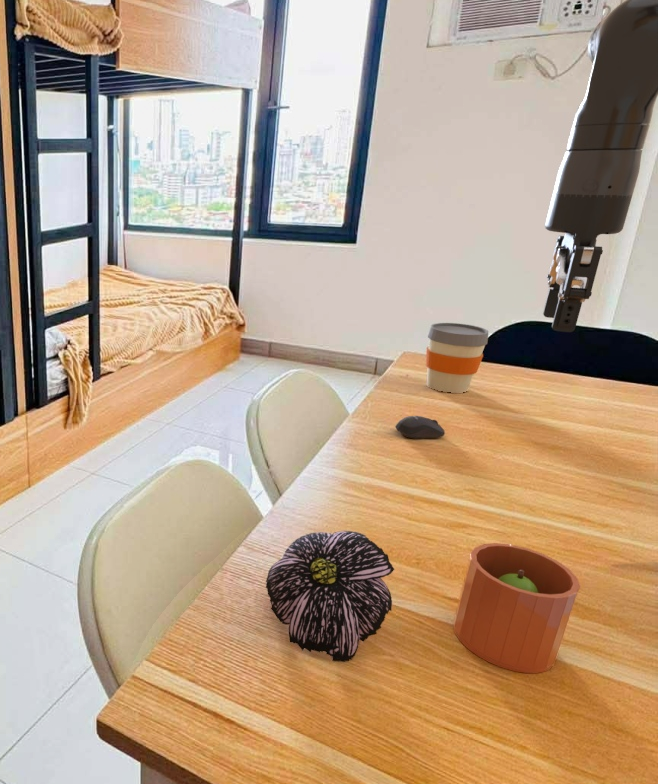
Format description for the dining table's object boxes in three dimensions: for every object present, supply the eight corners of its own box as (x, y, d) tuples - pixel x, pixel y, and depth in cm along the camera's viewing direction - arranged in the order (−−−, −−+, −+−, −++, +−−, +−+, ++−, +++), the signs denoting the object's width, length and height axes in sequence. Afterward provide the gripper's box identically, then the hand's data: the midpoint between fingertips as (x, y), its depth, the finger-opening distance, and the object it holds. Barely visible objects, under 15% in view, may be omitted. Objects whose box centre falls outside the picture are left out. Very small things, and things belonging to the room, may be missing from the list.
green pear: (539, 636, 73) (559, 570, 70) (526, 661, 69) (546, 593, 66) (483, 612, 77) (500, 549, 74) (467, 634, 73) (484, 569, 70)
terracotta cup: (564, 641, 73) (588, 569, 69) (543, 688, 66) (568, 610, 63) (468, 601, 80) (485, 533, 76) (440, 639, 73) (458, 567, 70)
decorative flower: (238, 546, 74) (335, 490, 78) (235, 597, 82) (323, 543, 86) (330, 648, 64) (436, 577, 68) (317, 695, 72) (413, 629, 76)
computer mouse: (448, 439, 126) (452, 421, 125) (404, 440, 126) (407, 422, 125) (431, 428, 132) (435, 410, 130) (389, 429, 131) (392, 412, 130)
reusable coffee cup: (410, 386, 156) (421, 328, 151) (429, 376, 164) (440, 320, 159) (466, 399, 148) (480, 338, 143) (483, 387, 156) (496, 328, 151)
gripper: (648, 193, 67) (605, 340, 72) (619, 189, 79) (583, 316, 84) (562, 192, 70) (527, 332, 76) (546, 188, 82) (516, 310, 88)
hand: (557, 323), depth 80 cm, fingers open, 8 cm apart
